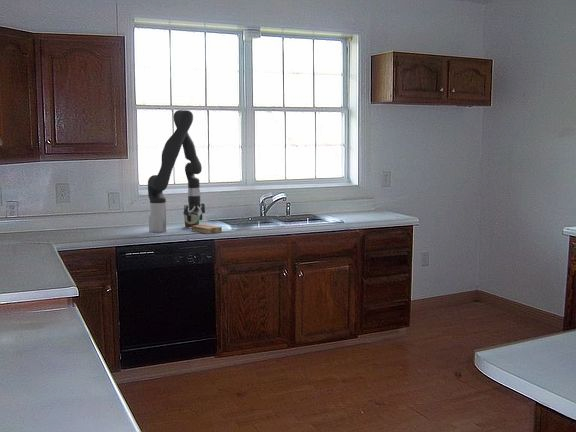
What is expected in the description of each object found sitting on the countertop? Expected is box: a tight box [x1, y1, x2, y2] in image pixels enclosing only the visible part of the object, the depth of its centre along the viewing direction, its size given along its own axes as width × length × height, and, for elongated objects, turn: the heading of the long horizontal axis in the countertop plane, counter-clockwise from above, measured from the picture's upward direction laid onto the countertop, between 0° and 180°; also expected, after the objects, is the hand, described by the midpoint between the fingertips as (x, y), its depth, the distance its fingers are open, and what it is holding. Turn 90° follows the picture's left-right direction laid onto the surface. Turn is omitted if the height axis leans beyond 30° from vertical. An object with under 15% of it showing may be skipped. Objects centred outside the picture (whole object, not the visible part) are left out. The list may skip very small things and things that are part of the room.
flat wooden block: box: [191, 223, 223, 235], centre depth 374 cm, size 10×16×3 cm, turn 45°
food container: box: [183, 211, 201, 228], centre depth 390 cm, size 12×6×10 cm, turn 58°
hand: (194, 220), depth 391 cm, fingers open, 8 cm apart
